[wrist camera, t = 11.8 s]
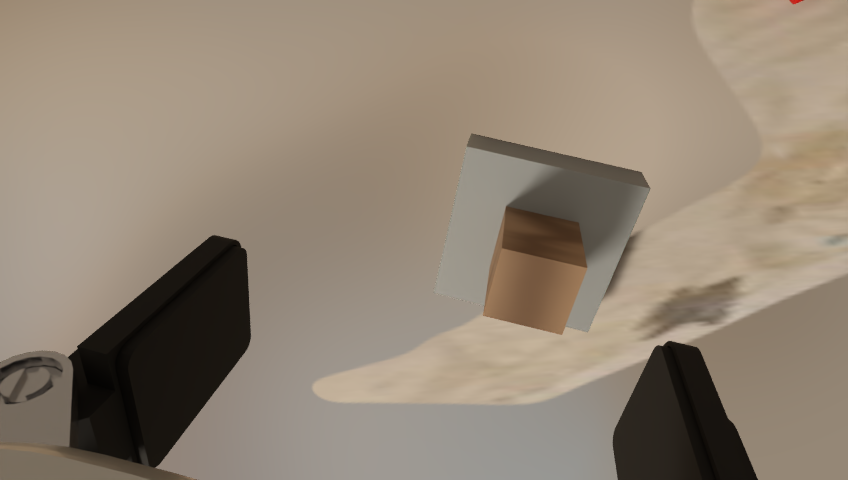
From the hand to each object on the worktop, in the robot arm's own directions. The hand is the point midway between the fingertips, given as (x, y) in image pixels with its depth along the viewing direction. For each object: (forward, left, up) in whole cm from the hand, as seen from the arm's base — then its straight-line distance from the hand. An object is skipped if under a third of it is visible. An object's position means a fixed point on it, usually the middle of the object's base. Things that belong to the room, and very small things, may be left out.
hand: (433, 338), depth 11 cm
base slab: (-5, +9, -26) cm, 28 cm away
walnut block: (-5, +9, -23) cm, 25 cm away
